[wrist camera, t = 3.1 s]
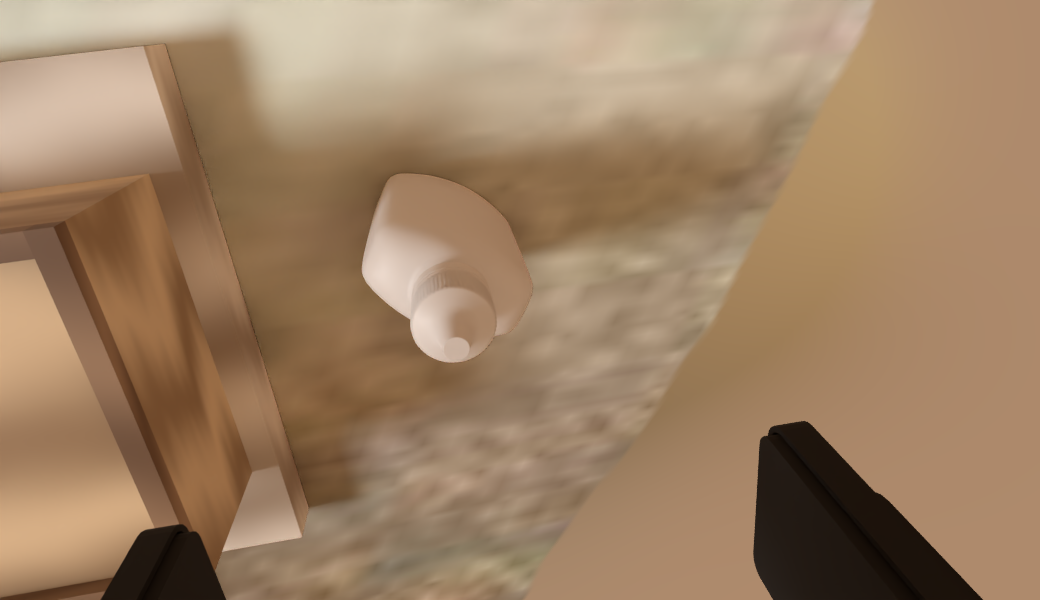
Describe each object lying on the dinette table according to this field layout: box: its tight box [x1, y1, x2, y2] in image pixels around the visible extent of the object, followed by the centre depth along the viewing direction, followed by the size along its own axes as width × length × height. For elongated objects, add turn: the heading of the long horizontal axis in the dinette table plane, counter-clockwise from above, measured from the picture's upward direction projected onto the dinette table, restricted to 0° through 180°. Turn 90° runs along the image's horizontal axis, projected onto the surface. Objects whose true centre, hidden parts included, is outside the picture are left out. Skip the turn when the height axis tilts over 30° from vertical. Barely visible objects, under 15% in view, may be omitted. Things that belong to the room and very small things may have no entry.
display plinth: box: [0, 44, 309, 600], centre depth 23 cm, size 22×14×9 cm, turn 6°
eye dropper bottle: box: [362, 173, 533, 363], centre depth 22 cm, size 4×6×12 cm
